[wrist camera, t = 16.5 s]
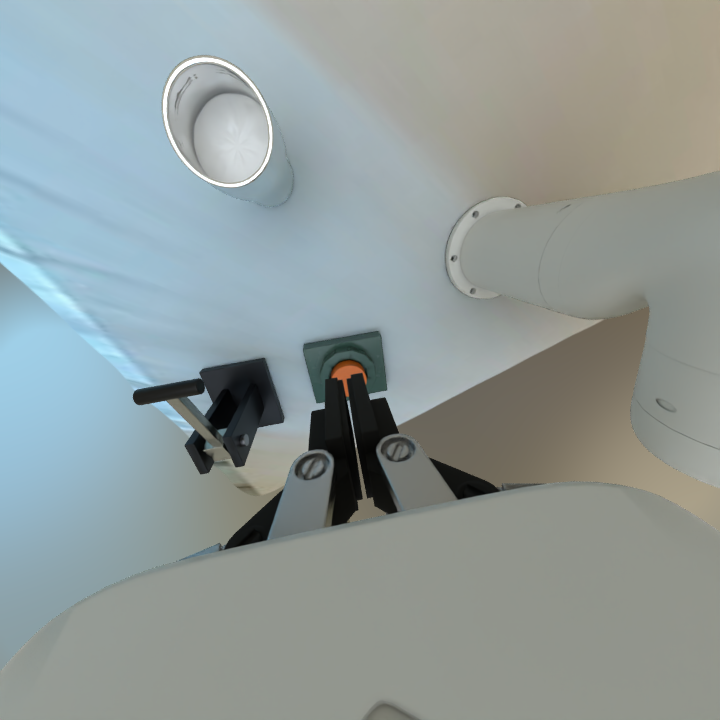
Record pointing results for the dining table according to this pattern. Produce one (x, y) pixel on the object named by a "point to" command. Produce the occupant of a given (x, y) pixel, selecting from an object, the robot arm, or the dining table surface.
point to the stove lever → (187, 412)
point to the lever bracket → (236, 409)
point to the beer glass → (226, 131)
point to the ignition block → (334, 351)
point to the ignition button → (347, 372)
